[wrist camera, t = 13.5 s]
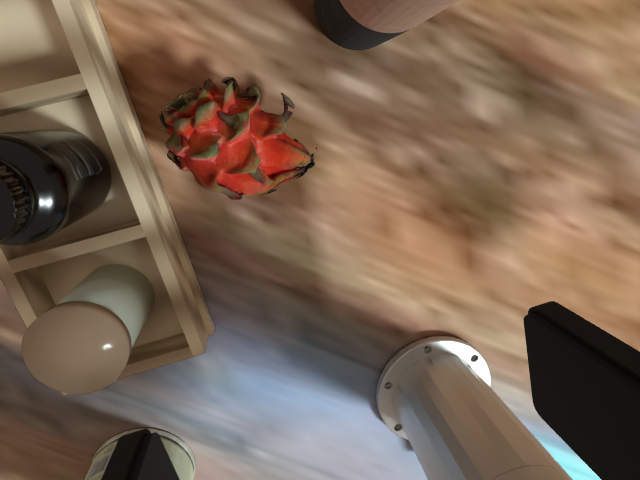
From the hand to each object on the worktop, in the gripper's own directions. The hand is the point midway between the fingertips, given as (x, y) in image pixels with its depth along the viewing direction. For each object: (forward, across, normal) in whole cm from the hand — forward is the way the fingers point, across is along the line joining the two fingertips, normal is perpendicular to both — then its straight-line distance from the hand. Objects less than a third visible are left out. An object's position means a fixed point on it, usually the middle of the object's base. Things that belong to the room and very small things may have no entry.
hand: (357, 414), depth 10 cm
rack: (+28, +16, -7) cm, 33 cm away
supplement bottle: (+27, +16, -7) cm, 32 cm away
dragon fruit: (+28, +2, -6) cm, 29 cm away
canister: (+27, +16, +4) cm, 32 cm away
